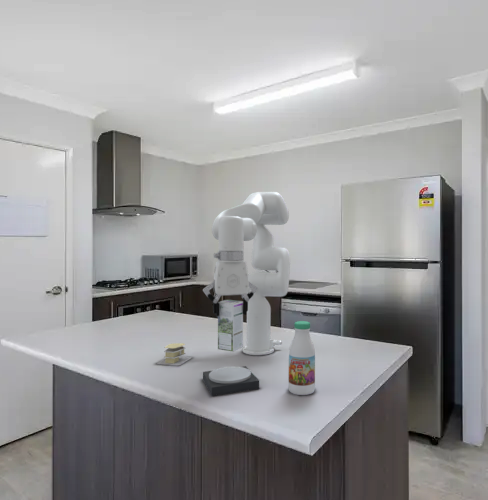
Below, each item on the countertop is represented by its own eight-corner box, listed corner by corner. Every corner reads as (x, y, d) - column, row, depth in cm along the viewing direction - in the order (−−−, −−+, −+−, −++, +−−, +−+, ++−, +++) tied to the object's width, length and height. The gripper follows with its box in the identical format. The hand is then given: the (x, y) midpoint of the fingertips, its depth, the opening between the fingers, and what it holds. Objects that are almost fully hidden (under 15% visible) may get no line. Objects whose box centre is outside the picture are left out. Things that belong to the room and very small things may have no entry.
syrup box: (243, 347, 113) (244, 300, 113) (232, 352, 108) (233, 303, 107) (228, 345, 115) (228, 299, 115) (216, 349, 110) (217, 301, 110)
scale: (246, 373, 121) (247, 363, 121) (260, 388, 108) (260, 377, 108) (202, 379, 115) (202, 369, 115) (211, 396, 102) (211, 384, 102)
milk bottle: (287, 385, 111) (288, 319, 110) (313, 385, 111) (313, 319, 111) (289, 396, 103) (290, 325, 103) (316, 395, 104) (317, 324, 103)
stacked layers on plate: (179, 365, 128) (179, 350, 128) (155, 364, 130) (156, 348, 130) (192, 357, 138) (192, 342, 138) (170, 355, 140) (171, 341, 139)
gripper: (204, 257, 104) (203, 319, 104) (262, 257, 111) (261, 315, 111) (199, 256, 111) (199, 314, 111) (254, 256, 118) (254, 311, 118)
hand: (230, 314), depth 111 cm, fingers closed on syrup box, 7 cm apart
